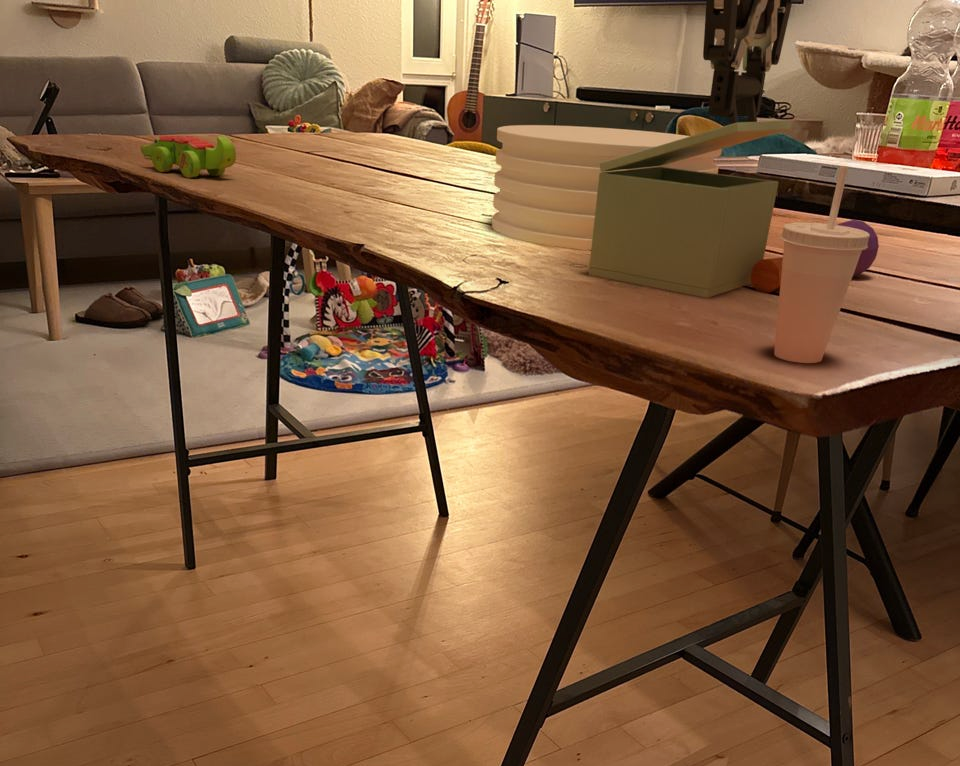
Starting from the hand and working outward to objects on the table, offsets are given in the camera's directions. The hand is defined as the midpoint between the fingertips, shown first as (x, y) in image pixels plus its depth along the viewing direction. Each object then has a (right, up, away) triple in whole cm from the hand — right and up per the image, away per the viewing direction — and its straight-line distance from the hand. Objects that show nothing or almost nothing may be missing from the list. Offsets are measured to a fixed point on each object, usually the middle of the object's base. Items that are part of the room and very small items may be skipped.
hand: (733, 115), depth 93 cm
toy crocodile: (-72, +25, +63) cm, 99 cm away
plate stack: (-9, +3, +34) cm, 35 cm away
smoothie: (+1, -28, -15) cm, 32 cm away
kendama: (+12, -12, +12) cm, 21 cm away
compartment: (-4, -12, +10) cm, 16 cm away
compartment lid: (-3, -2, +3) cm, 5 cm away
